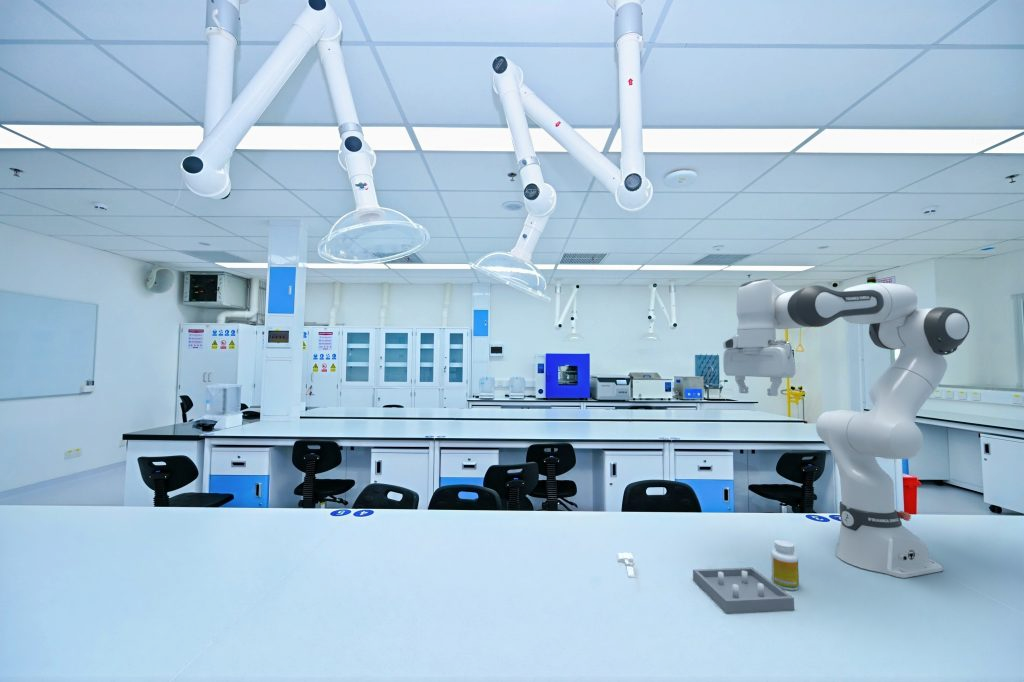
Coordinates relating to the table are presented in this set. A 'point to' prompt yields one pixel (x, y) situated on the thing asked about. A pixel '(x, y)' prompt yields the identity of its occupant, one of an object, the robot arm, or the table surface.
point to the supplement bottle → (785, 565)
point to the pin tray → (742, 590)
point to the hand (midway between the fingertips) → (757, 394)
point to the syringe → (625, 559)
